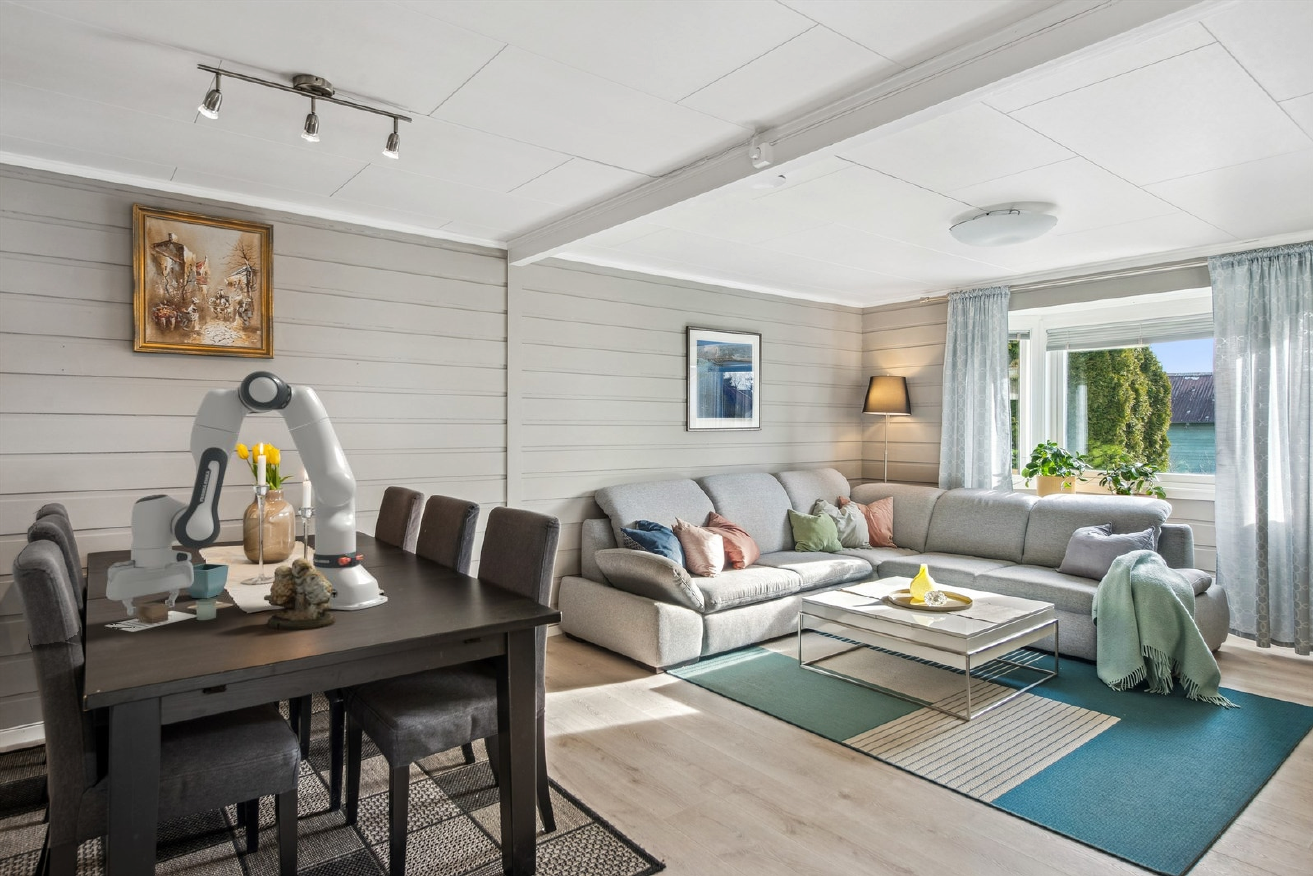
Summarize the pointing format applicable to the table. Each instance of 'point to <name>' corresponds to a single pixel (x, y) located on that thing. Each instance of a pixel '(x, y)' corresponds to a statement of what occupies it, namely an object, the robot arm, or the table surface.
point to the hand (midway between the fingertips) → (151, 610)
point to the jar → (206, 609)
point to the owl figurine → (300, 597)
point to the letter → (139, 625)
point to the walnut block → (153, 613)
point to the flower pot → (208, 580)
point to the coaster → (218, 605)
